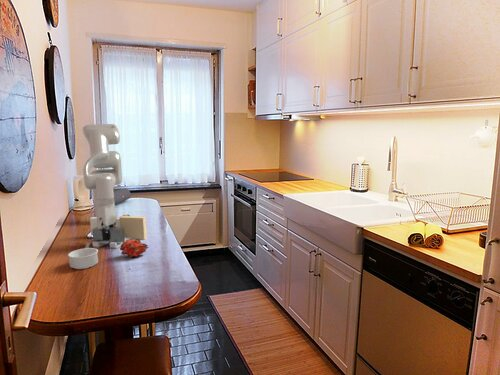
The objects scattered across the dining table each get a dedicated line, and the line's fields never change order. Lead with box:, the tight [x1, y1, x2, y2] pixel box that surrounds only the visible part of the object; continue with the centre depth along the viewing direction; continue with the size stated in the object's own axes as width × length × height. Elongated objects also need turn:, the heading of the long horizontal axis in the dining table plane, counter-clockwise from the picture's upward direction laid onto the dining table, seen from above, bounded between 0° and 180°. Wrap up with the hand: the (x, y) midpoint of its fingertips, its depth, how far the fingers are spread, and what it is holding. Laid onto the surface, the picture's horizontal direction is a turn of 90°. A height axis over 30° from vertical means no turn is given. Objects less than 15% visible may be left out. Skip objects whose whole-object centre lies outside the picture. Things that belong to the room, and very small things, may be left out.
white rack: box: [89, 215, 148, 249], centre depth 182 cm, size 18×30×11 cm, turn 78°
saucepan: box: [67, 241, 99, 270], centre depth 157 cm, size 12×20×6 cm, turn 15°
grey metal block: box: [92, 227, 125, 243], centre depth 178 cm, size 4×14×6 cm, turn 84°
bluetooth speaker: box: [113, 188, 132, 207], centre depth 272 cm, size 23×9×10 cm, turn 167°
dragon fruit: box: [119, 239, 149, 259], centre depth 162 cm, size 8×8×12 cm
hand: (109, 238), depth 178 cm, fingers closed on grey metal block, 4 cm apart
